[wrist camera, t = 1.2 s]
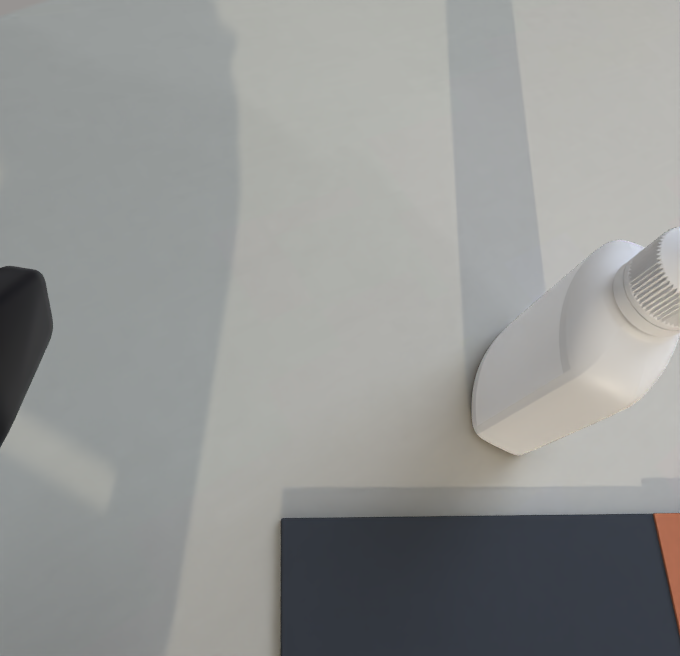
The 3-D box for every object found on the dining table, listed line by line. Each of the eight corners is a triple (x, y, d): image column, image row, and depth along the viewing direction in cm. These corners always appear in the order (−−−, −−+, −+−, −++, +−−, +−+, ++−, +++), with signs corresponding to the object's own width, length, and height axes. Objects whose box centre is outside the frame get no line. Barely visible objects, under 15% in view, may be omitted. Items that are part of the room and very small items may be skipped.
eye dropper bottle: (430, 381, 25) (606, 217, 14) (524, 314, 27) (740, 127, 16) (500, 473, 24) (746, 372, 13) (591, 395, 26) (867, 255, 15)
